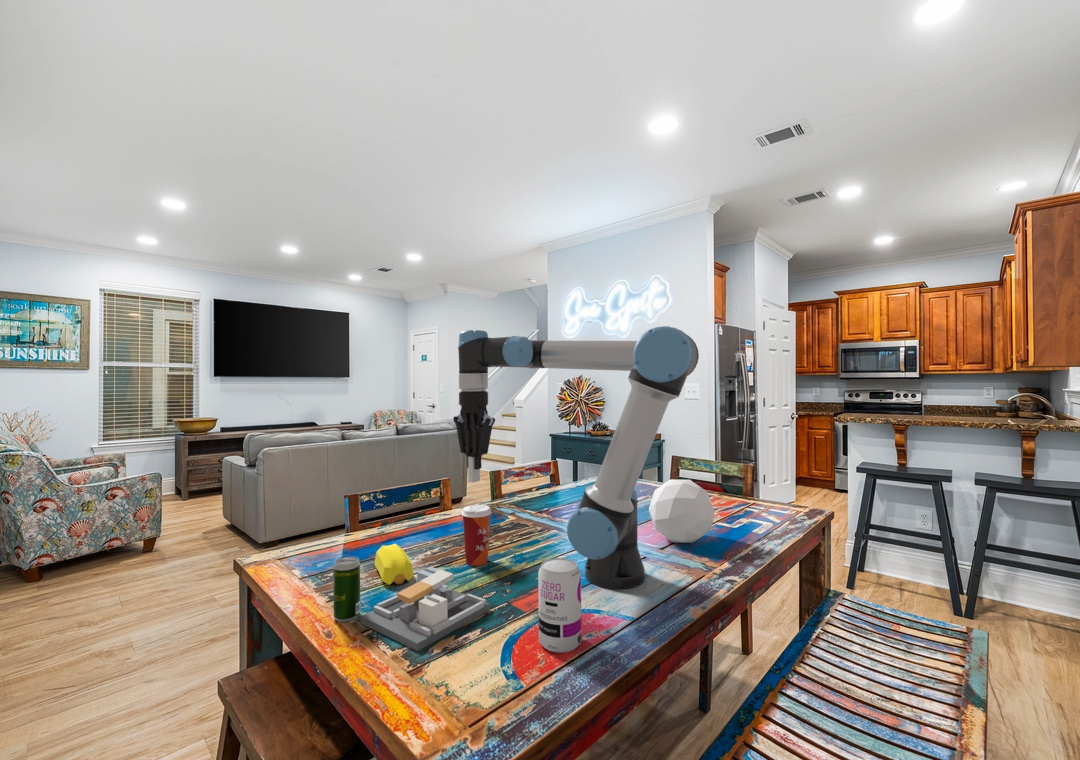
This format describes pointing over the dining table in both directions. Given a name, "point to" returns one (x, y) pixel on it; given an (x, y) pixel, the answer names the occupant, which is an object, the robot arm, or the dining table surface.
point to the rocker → (425, 586)
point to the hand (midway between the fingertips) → (474, 481)
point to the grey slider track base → (404, 617)
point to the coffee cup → (476, 534)
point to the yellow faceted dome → (393, 564)
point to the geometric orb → (681, 511)
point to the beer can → (346, 589)
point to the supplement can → (559, 605)
